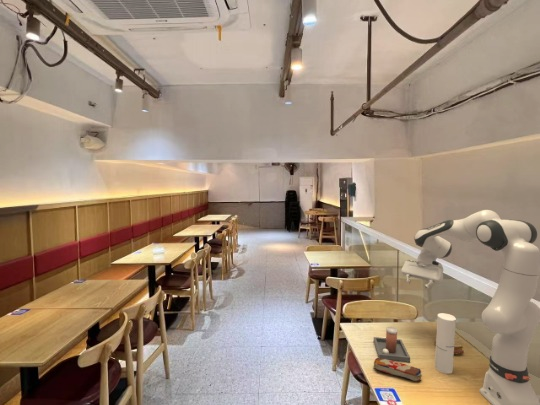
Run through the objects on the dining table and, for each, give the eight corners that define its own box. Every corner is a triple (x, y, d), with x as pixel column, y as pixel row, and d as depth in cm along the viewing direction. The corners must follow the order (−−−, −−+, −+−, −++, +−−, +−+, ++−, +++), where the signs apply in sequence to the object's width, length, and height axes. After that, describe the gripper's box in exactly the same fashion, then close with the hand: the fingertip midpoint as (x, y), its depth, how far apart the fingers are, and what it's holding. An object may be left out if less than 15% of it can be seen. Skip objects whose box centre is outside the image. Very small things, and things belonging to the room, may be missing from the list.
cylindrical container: (455, 374, 133) (458, 321, 131) (437, 372, 135) (440, 319, 132) (448, 364, 140) (452, 313, 138) (432, 362, 141) (435, 312, 139)
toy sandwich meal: (456, 343, 159) (457, 334, 159) (467, 358, 146) (468, 348, 145) (431, 340, 162) (431, 331, 161) (439, 354, 149) (440, 345, 148)
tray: (410, 362, 142) (410, 357, 141) (379, 359, 144) (379, 354, 144) (401, 344, 157) (401, 339, 157) (373, 341, 160) (373, 337, 159)
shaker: (397, 353, 148) (398, 332, 146) (386, 352, 148) (387, 331, 147) (395, 348, 153) (396, 327, 152) (384, 346, 153) (385, 326, 152)
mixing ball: (389, 356, 145) (389, 351, 145) (382, 356, 145) (383, 350, 145) (387, 353, 148) (388, 347, 148) (381, 352, 148) (381, 347, 148)
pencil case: (379, 359, 144) (379, 349, 144) (423, 376, 132) (424, 366, 132) (371, 371, 136) (371, 360, 135) (417, 390, 123) (418, 379, 123)
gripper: (404, 256, 168) (395, 276, 163) (444, 264, 153) (436, 287, 148) (407, 262, 172) (399, 282, 166) (446, 271, 157) (439, 293, 151)
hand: (417, 285), depth 157 cm, fingers open, 8 cm apart
